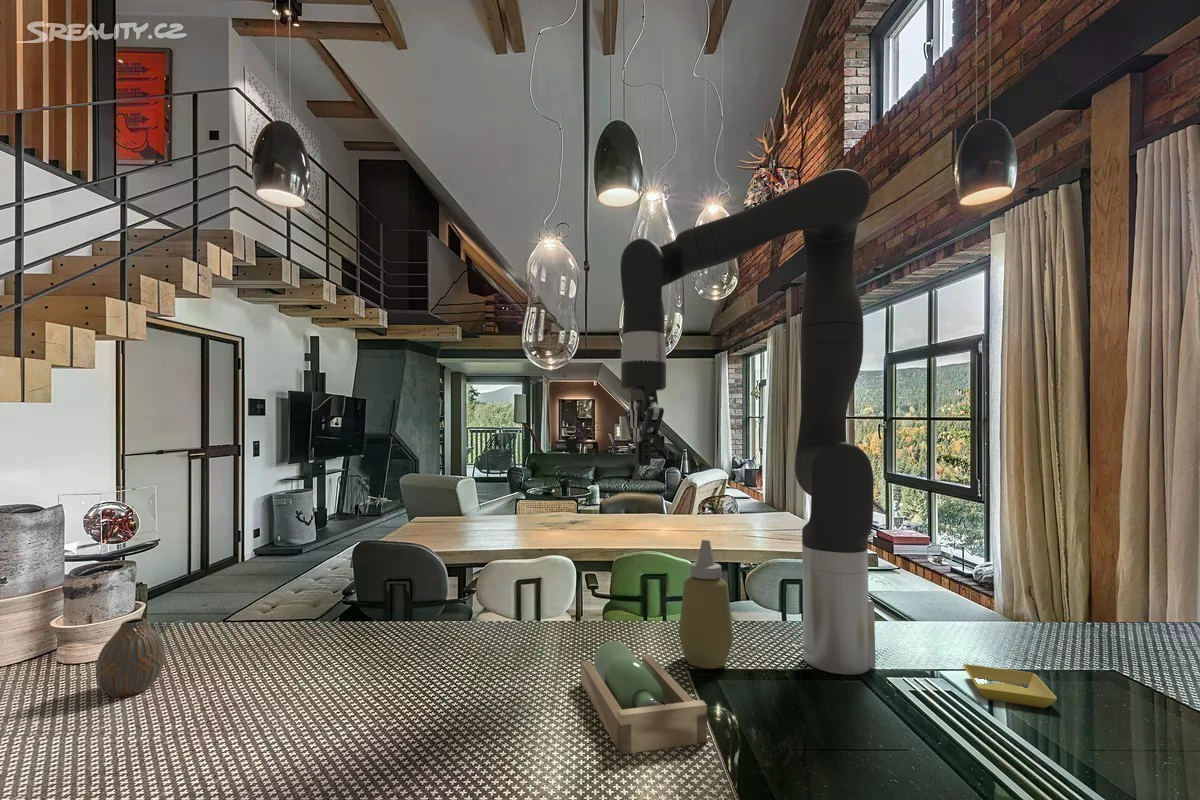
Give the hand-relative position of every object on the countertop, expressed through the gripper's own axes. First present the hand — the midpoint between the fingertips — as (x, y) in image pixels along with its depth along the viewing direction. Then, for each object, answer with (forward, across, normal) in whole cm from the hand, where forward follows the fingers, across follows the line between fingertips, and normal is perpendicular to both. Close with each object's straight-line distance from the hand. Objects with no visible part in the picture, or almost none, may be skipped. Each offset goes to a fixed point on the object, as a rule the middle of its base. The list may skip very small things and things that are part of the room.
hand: (642, 465), depth 94 cm
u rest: (+29, -21, +8) cm, 37 cm away
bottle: (+26, -12, +8) cm, 30 cm away
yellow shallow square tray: (+30, -28, -42) cm, 59 cm away
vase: (+29, 0, +70) cm, 76 cm away
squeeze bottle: (+29, -9, -7) cm, 31 cm away
